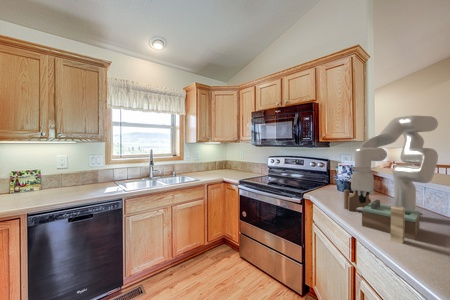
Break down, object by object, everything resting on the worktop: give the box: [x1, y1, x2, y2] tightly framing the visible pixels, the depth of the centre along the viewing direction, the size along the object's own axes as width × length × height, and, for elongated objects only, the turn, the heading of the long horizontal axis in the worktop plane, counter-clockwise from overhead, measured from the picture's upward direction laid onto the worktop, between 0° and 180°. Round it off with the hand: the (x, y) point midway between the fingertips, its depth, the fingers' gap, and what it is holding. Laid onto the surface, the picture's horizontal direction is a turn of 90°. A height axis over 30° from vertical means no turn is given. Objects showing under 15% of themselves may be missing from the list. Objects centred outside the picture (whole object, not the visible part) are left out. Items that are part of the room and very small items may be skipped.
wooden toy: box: [343, 178, 373, 212], centre depth 128 cm, size 16×7×25 cm, turn 72°
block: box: [390, 205, 405, 245], centre depth 86 cm, size 4×4×16 cm
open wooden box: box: [361, 211, 421, 241], centre depth 99 cm, size 16×20×9 cm
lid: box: [361, 199, 421, 222], centre depth 99 cm, size 16×20×4 cm
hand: (362, 202), depth 108 cm, fingers closed
